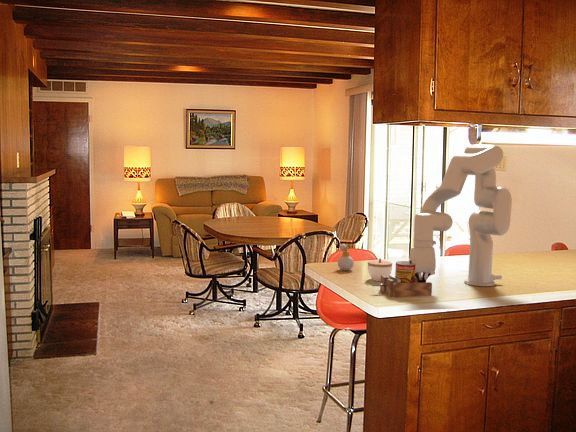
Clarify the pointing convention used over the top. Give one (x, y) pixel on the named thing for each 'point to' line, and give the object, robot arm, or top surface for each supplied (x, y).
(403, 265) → the canned food
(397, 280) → the pusher
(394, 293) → the brown wooden frame
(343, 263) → the perfume bottle
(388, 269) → the lidded jar
